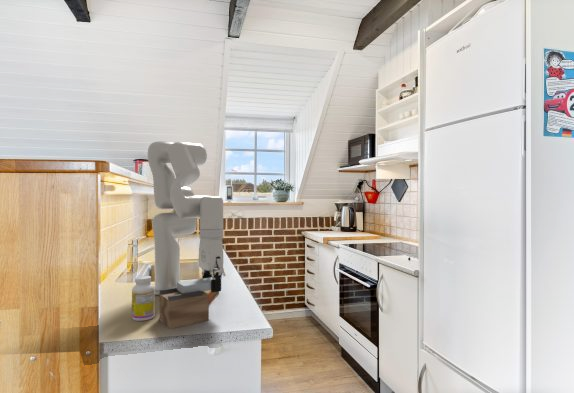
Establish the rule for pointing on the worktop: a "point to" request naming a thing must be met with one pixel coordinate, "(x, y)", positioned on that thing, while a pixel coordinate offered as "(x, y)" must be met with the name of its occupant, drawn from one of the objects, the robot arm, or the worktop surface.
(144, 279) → the supplement bottle
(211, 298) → the carton
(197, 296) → the slot box
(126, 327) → the worktop surface
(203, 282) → the cover plate
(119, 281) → the worktop surface
